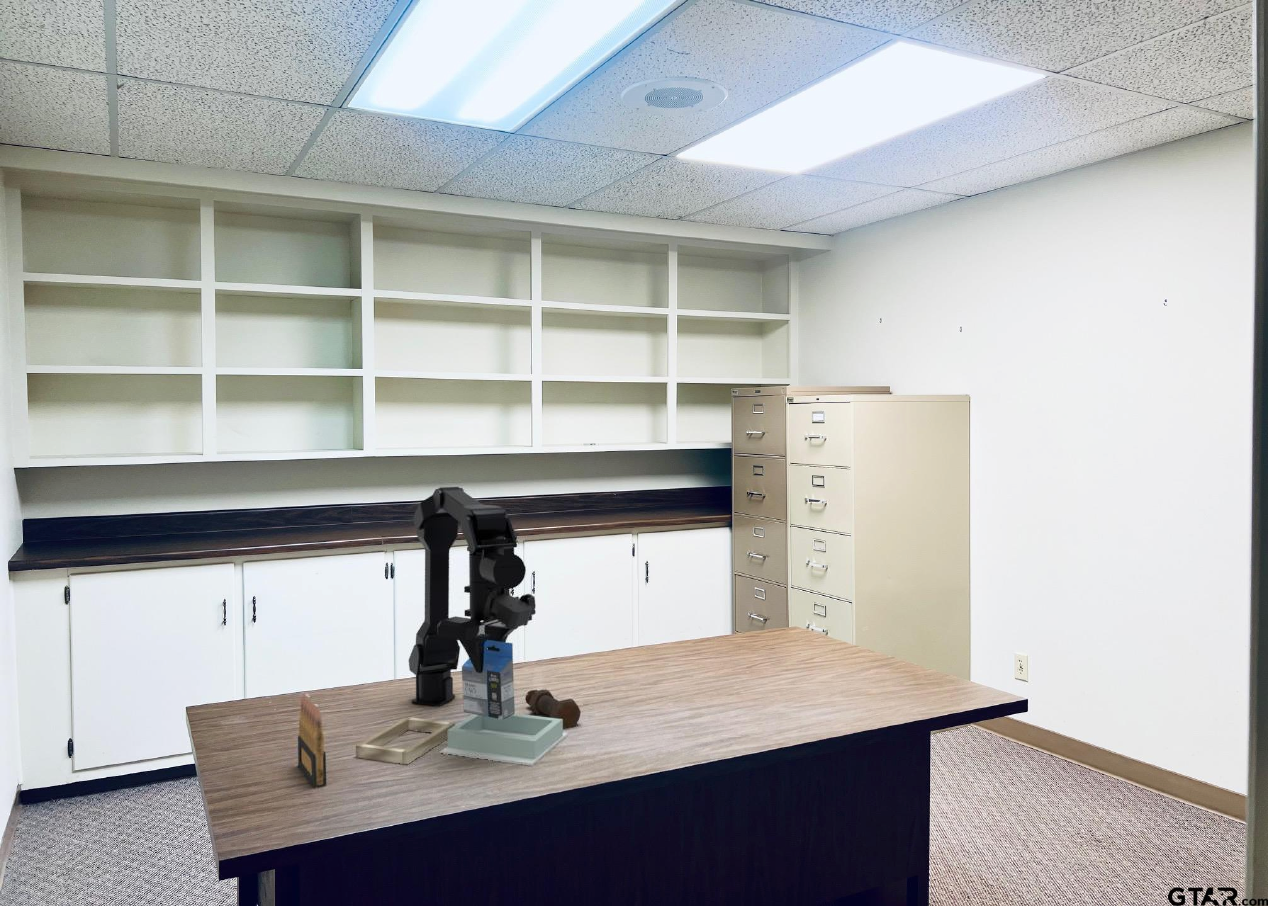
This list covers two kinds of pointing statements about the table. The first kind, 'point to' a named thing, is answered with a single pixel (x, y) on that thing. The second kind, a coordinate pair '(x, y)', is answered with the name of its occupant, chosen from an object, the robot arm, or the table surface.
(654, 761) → the table surface
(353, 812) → the table surface
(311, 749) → the ammunition clip
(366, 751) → the beige open rectangular frame
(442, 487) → the robot arm
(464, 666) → the label tape cartridge
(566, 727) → the bolt
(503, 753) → the slot plate
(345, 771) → the table surface
